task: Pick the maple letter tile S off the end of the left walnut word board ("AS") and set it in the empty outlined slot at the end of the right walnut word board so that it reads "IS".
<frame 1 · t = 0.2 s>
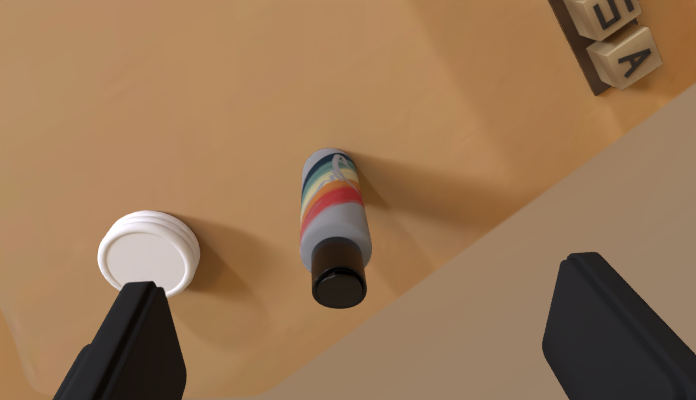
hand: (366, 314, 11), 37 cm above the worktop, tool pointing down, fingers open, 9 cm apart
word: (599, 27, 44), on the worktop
coaster: (156, 246, 52), on the worktop
lotion bottle: (329, 171, 50), on the worktop
tile s: (590, 3, 43), resting on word
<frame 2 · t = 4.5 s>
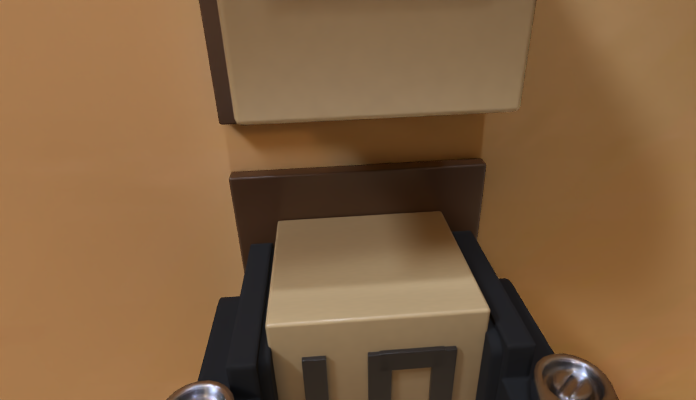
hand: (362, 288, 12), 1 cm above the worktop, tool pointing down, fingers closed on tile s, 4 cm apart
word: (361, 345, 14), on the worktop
tile s: (361, 280, 12), resting on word, touching gripper
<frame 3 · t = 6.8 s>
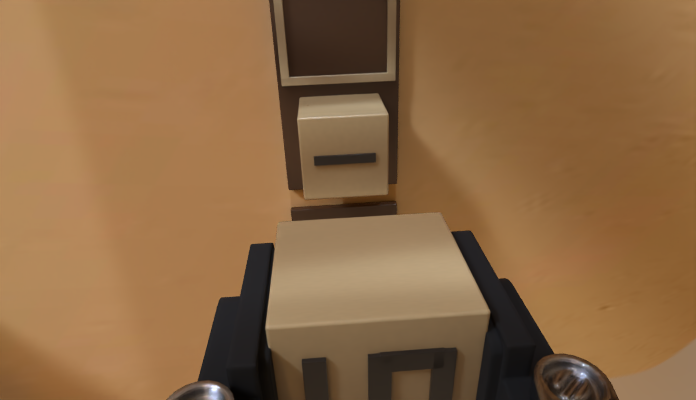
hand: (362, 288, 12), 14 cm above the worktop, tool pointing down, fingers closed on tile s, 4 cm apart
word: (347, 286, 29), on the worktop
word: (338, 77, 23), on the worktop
tile s: (361, 281, 12), point 14 cm above the worktop, touching gripper
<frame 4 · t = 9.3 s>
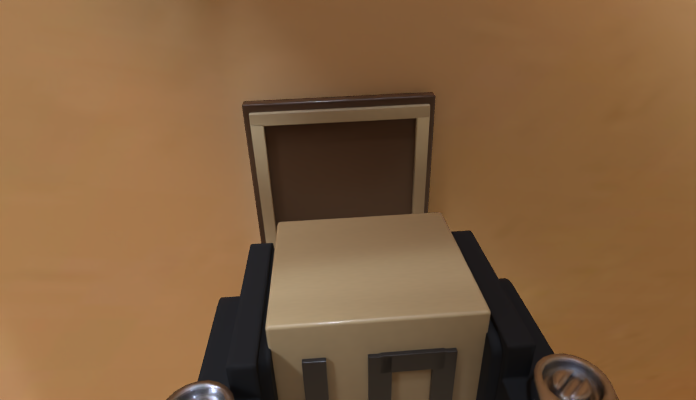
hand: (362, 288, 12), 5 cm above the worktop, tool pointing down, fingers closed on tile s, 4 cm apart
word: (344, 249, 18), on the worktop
tile s: (361, 281, 12), point 5 cm above the worktop, touching gripper
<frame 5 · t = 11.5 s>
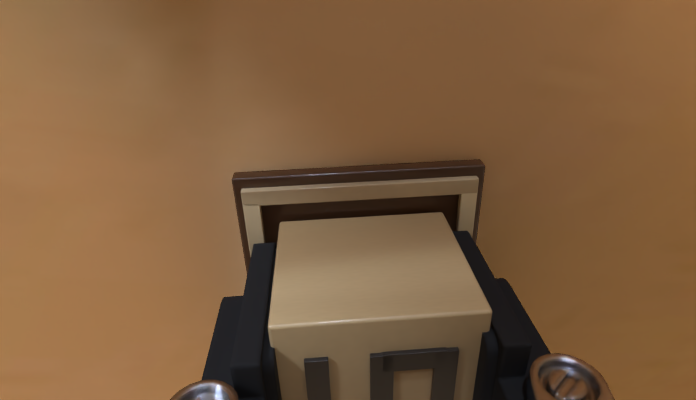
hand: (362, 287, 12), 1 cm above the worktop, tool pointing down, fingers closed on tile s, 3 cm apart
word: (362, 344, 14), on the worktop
tile s: (362, 281, 12), point 1 cm above the worktop, touching gripper
when the fingers open (1 cm above the worktop, at t = 14.5 s): tile s stays where it is, resting on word.
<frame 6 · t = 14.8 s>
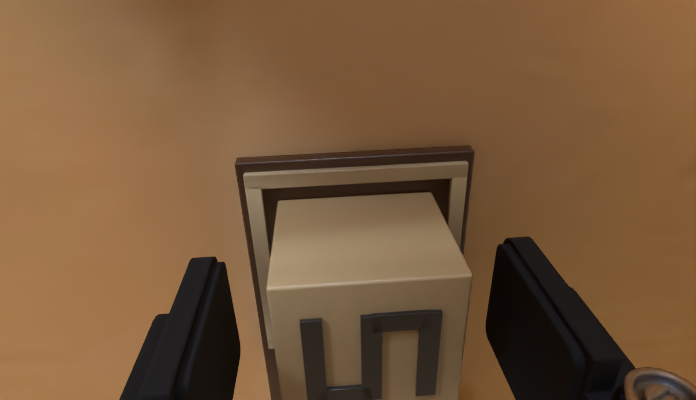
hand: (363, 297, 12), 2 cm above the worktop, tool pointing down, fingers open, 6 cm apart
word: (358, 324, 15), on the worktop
tile s: (356, 258, 13), resting on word
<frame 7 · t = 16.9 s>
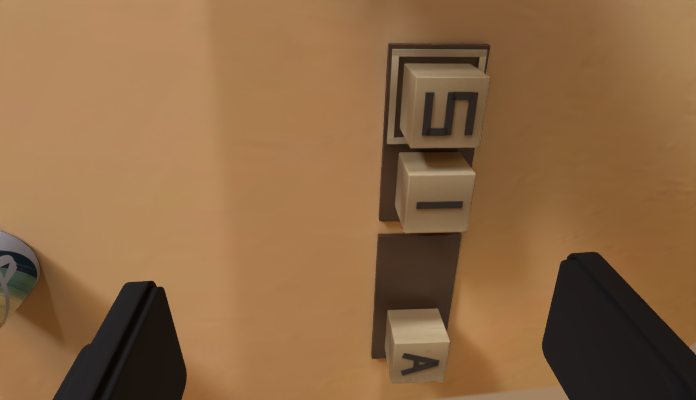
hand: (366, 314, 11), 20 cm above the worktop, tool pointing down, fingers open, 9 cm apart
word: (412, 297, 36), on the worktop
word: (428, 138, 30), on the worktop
tile s: (433, 96, 28), resting on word
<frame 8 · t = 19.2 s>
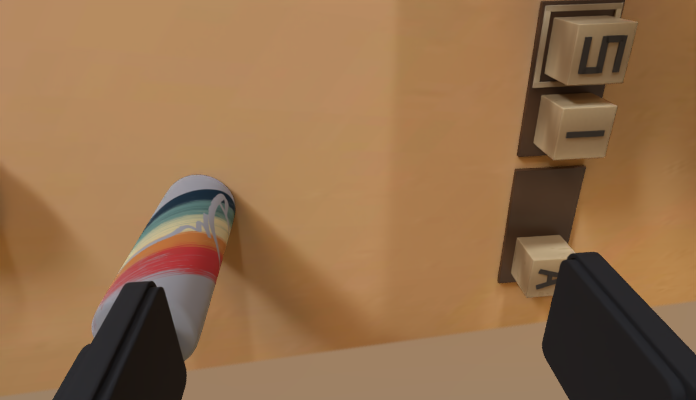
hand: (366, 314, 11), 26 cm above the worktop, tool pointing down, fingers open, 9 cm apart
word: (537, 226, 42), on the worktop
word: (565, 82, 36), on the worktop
lotion bottle: (202, 202, 39), on the worktop
tile s: (575, 45, 34), resting on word
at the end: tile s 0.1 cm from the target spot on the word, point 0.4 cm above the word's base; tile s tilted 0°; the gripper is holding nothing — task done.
